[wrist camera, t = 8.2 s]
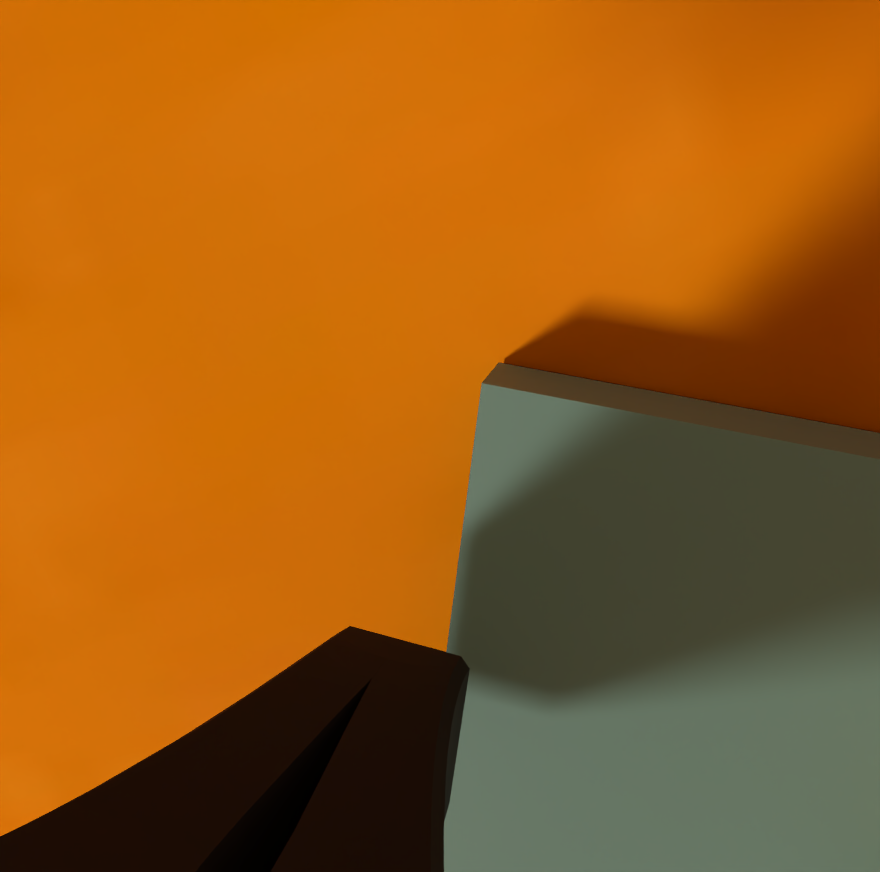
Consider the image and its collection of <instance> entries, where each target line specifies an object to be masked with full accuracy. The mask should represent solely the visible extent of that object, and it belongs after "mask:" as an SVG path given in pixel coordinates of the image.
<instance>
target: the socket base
mask: <svg viewBox="0 0 880 872" xmlns="http://www.w3.org/2000/svg"><path fill="white" fill-rule="evenodd" d="M447 652H448V653H451V654H455V655H459V656H461V657H462V658H463V660H464V661H465V662H466V664H467V665H468V667H469V668H470V671H469V677H468V684H467V691H466V697H465V704H464V710H463V717H462V724H461V730H460V737H459V743H458V750H457V757H456V763H455V770H454V776H453V783H452V790H451V796H450V803H449V806H448V810H447V814H446V817H445V821H444V872H880V433H877V432H872V431H866V430H861V429H856V428H850V427H845V426H839V425H834V424H828V423H823V422H818V421H812V420H807V419H801V418H796V417H791V416H785V415H780V414H774V413H769V412H764V411H758V410H753V409H747V408H742V407H737V406H731V405H726V404H720V403H715V402H710V401H704V400H699V399H693V398H688V397H683V396H677V395H672V394H666V393H661V392H656V391H650V390H645V389H639V388H634V387H629V386H623V385H618V384H612V383H607V382H602V381H596V380H591V379H585V378H580V377H575V376H569V375H564V374H558V373H553V372H548V371H542V370H537V369H531V368H526V367H521V366H515V365H510V364H504V363H498V364H497V365H496V367H495V368H494V369H493V370H492V371H491V373H490V374H489V375H488V376H487V378H486V379H485V380H484V381H483V382H482V386H481V394H480V401H479V409H478V417H477V424H476V432H475V439H474V447H473V455H472V462H471V470H470V477H469V485H468V493H467V500H466V508H465V515H464V523H463V531H462V538H461V546H460V553H459V561H458V568H457V576H456V584H455V591H454V599H453V606H452V614H451V622H450V629H449V637H448V644H447Z"/></svg>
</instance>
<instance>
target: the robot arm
mask: <svg viewBox="0 0 880 872" xmlns="http://www.w3.org/2000/svg"><path fill="white" fill-rule="evenodd" d="M469 671H470V668H469V667H468V665H467V664H466V662H465V661H464V660H463V658H462V657H461V656H459V655H455V654H451V653H448V652H444V651H440V650H437V649H433V648H429V647H426V646H422V645H418V644H414V643H411V642H407V641H403V640H400V639H396V638H392V637H388V636H385V635H381V634H377V633H374V632H370V631H366V630H363V629H359V628H355V627H351V626H349V627H348V628H346V629H344V630H343V631H341V632H339V633H338V634H336V635H335V636H333V637H332V638H330V639H329V640H327V641H326V642H324V643H323V644H321V645H320V646H318V647H317V648H316V649H314V650H313V651H311V652H310V653H308V654H307V655H305V656H304V657H303V658H301V659H300V660H298V661H297V662H295V663H294V664H292V665H291V666H290V667H288V668H287V669H285V670H284V671H282V672H281V673H279V674H278V675H276V676H275V677H273V678H272V679H270V680H269V681H267V682H266V683H265V684H263V685H262V686H260V687H259V688H257V689H256V690H254V691H253V692H251V693H250V694H248V695H247V696H245V697H244V698H242V699H240V700H239V701H237V702H236V703H234V704H233V705H231V706H230V707H228V708H226V709H225V710H223V711H222V712H220V713H219V714H217V715H216V716H214V717H213V718H211V719H209V720H208V721H206V722H205V723H203V724H202V725H200V726H199V727H197V728H195V729H194V730H192V731H191V732H189V733H188V734H186V735H184V736H183V737H181V738H179V739H178V740H176V741H175V742H173V743H171V744H170V745H168V746H166V747H164V748H163V749H161V750H159V751H158V752H156V753H154V754H152V755H151V756H149V757H147V758H145V759H144V760H142V761H140V762H139V763H137V764H135V765H133V766H132V767H130V768H128V769H127V770H125V771H123V772H121V773H120V774H118V775H116V776H114V777H113V778H111V779H109V780H108V781H106V782H104V783H102V784H101V785H99V786H97V787H95V788H94V789H92V790H90V791H88V792H86V793H85V794H83V795H81V796H79V797H77V798H75V799H73V800H71V801H70V802H68V803H66V804H64V805H62V806H60V807H58V808H56V809H55V810H53V811H51V812H49V813H47V814H45V815H43V816H41V817H39V818H37V819H35V820H33V821H31V822H29V823H27V824H25V825H23V826H21V827H19V828H17V829H15V830H13V831H11V832H9V833H7V834H5V835H3V836H0V872H444V821H445V817H446V814H447V810H448V806H449V803H450V796H451V790H452V783H453V776H454V770H455V763H456V757H457V750H458V743H459V737H460V730H461V724H462V717H463V710H464V704H465V697H466V691H467V684H468V677H469Z"/></svg>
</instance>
